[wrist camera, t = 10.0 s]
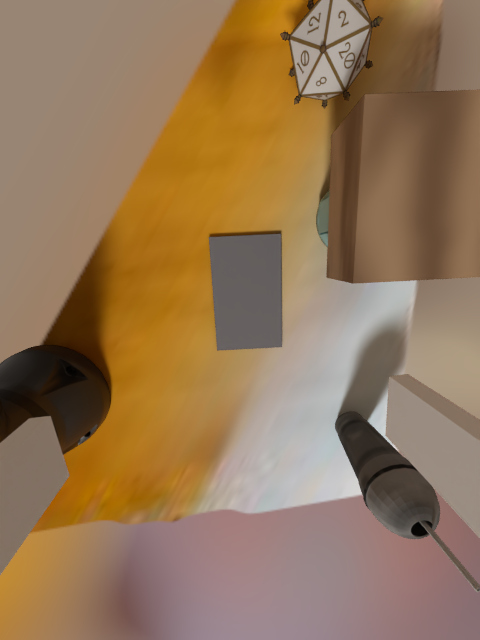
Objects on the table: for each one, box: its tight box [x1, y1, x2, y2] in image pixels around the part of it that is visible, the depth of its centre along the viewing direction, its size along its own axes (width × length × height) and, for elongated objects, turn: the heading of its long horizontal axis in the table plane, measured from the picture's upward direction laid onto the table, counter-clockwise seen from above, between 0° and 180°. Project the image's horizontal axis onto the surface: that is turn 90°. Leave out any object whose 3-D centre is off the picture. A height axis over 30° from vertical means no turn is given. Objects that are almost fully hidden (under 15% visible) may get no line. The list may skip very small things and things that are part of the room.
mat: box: [209, 234, 282, 350], centre depth 33 cm, size 9×15×1 cm, turn 3°
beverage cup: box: [335, 412, 480, 592], centre depth 29 cm, size 7×7×20 cm
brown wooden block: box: [327, 90, 480, 283], centre depth 22 cm, size 11×13×6 cm
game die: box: [280, 0, 383, 109], centre depth 24 cm, size 9×8×10 cm
